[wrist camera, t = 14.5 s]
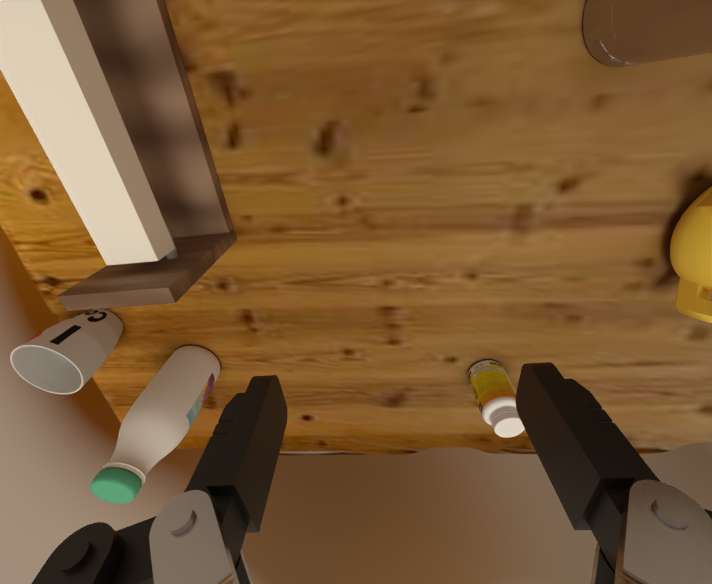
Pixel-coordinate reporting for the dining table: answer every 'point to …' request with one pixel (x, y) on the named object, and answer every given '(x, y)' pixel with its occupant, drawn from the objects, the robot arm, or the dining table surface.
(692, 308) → the teapot
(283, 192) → the dining table surface
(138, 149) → the shelf frame
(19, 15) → the shelf board
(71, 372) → the cup
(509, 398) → the supplement bottle
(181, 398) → the milk bottle
